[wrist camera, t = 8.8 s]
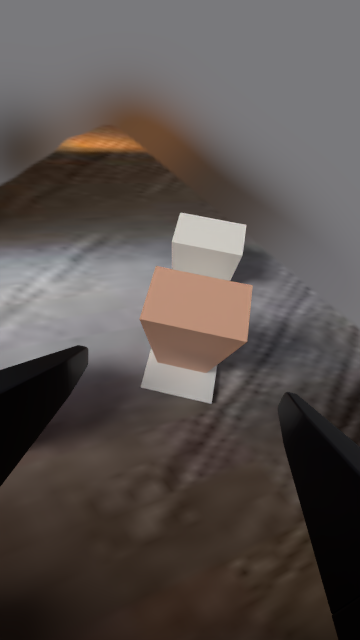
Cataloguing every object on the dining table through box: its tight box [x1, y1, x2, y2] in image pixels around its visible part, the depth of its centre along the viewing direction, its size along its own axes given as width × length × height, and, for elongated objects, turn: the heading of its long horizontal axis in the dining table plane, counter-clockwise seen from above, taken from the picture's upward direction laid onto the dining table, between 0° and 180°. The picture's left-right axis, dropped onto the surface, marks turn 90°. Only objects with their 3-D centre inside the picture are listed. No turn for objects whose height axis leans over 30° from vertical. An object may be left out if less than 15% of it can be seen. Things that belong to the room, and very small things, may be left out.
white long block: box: [141, 213, 246, 404], centre depth 21 cm, size 18×7×6 cm, turn 168°
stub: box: [140, 266, 253, 373], centre depth 15 cm, size 3×5×12 cm, turn 78°
